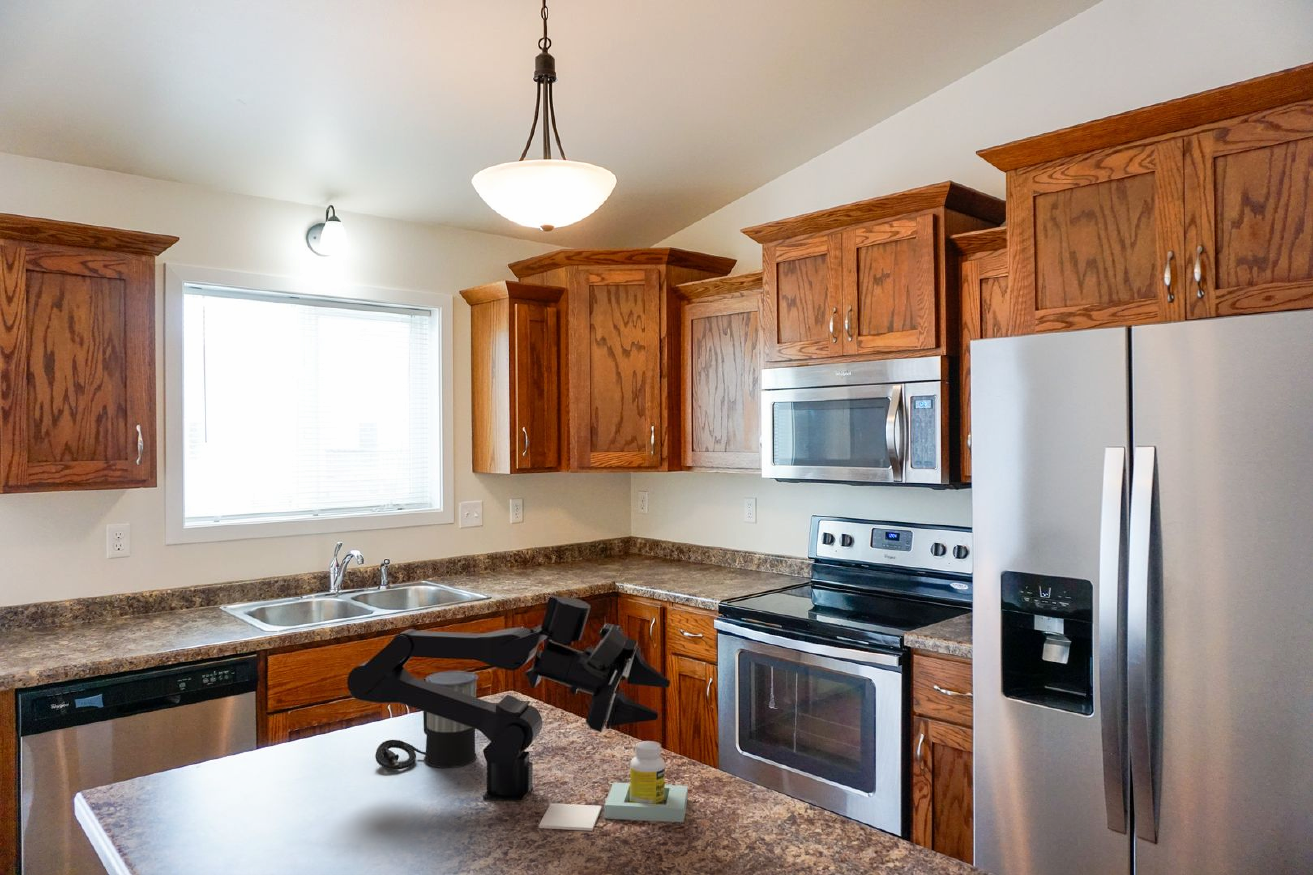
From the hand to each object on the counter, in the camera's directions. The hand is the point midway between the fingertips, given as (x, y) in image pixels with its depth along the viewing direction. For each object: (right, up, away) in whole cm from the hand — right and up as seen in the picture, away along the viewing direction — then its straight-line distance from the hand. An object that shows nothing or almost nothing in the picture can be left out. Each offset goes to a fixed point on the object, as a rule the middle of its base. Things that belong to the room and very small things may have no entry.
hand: (664, 699), depth 136 cm
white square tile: (-14, -16, -6) cm, 22 cm away
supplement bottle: (-3, -16, -2) cm, 17 cm away
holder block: (-3, -16, -2) cm, 16 cm away
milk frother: (-42, -16, +17) cm, 48 cm away
